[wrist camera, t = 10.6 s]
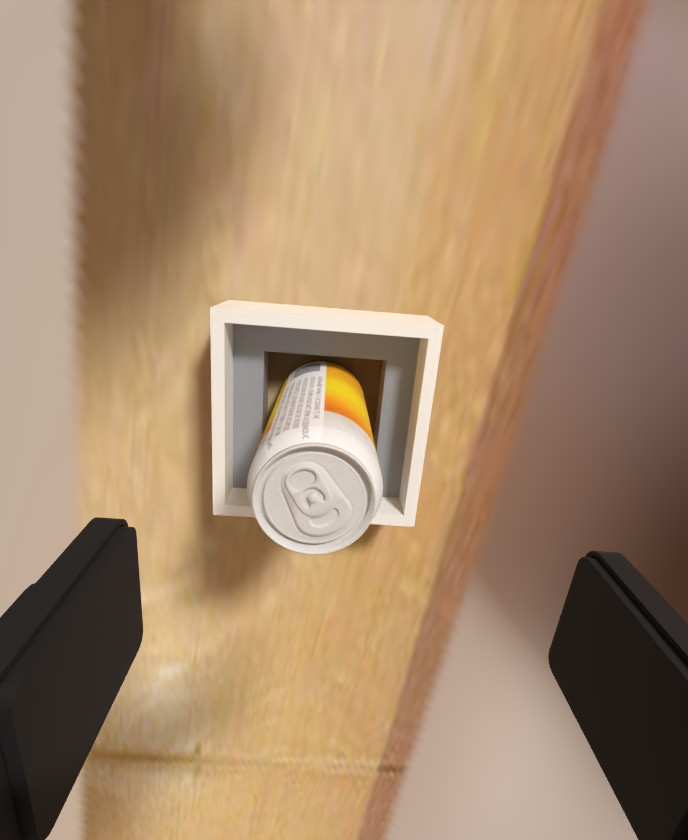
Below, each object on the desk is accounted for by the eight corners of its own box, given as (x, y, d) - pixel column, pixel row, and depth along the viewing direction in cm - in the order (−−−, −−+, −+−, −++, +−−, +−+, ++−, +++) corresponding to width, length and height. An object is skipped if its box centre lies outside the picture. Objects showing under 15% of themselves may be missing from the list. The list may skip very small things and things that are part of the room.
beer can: (304, 451, 35) (284, 582, 21) (265, 381, 33) (215, 473, 19) (377, 417, 34) (407, 530, 20) (341, 344, 33) (347, 411, 18)
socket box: (228, 299, 31) (210, 307, 27) (427, 315, 32) (443, 325, 27) (228, 480, 36) (212, 514, 31) (403, 491, 37) (413, 526, 32)
